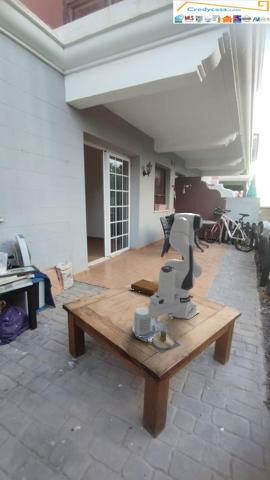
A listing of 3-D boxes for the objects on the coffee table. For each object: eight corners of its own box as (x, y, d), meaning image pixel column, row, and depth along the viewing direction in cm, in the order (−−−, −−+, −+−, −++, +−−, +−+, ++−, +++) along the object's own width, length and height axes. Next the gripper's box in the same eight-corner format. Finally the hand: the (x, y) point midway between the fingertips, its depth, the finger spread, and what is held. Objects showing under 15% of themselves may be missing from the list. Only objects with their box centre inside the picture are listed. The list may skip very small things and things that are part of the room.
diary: (130, 290, 196) (130, 284, 195) (142, 284, 211) (142, 279, 210) (152, 297, 183) (153, 290, 182) (163, 290, 198) (163, 284, 197)
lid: (163, 333, 129) (164, 324, 128) (178, 344, 119) (179, 334, 118) (147, 339, 123) (148, 329, 122) (161, 351, 113) (162, 341, 112)
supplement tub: (152, 332, 131) (154, 309, 129) (145, 340, 123) (147, 316, 120) (138, 327, 135) (139, 305, 133) (130, 335, 127) (131, 311, 125)
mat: (164, 333, 131) (164, 332, 131) (180, 345, 119) (181, 344, 119) (145, 340, 123) (145, 339, 123) (161, 354, 111) (161, 353, 111)
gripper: (175, 291, 125) (173, 314, 127) (147, 297, 114) (145, 322, 116) (183, 295, 120) (181, 318, 122) (154, 302, 108) (153, 328, 110)
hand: (164, 320), depth 119 cm, fingers open, 8 cm apart
